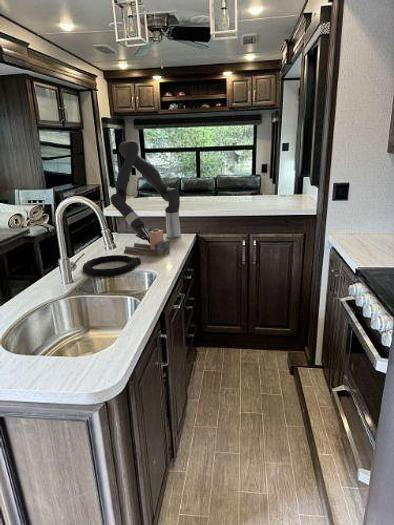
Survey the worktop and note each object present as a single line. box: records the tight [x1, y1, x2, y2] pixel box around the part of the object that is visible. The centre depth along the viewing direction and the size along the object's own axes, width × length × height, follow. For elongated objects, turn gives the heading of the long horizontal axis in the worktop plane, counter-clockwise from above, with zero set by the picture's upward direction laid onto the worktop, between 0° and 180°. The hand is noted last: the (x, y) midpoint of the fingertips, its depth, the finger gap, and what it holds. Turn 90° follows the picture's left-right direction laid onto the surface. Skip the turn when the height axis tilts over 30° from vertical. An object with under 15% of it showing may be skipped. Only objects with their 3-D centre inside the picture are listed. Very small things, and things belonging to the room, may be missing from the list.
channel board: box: [123, 239, 171, 258], centre depth 207 cm, size 12×25×8 cm, turn 60°
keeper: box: [149, 228, 165, 250], centre depth 202 cm, size 6×5×13 cm
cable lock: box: [82, 254, 142, 277], centre depth 183 cm, size 28×4×30 cm
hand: (152, 243), depth 204 cm, fingers closed
